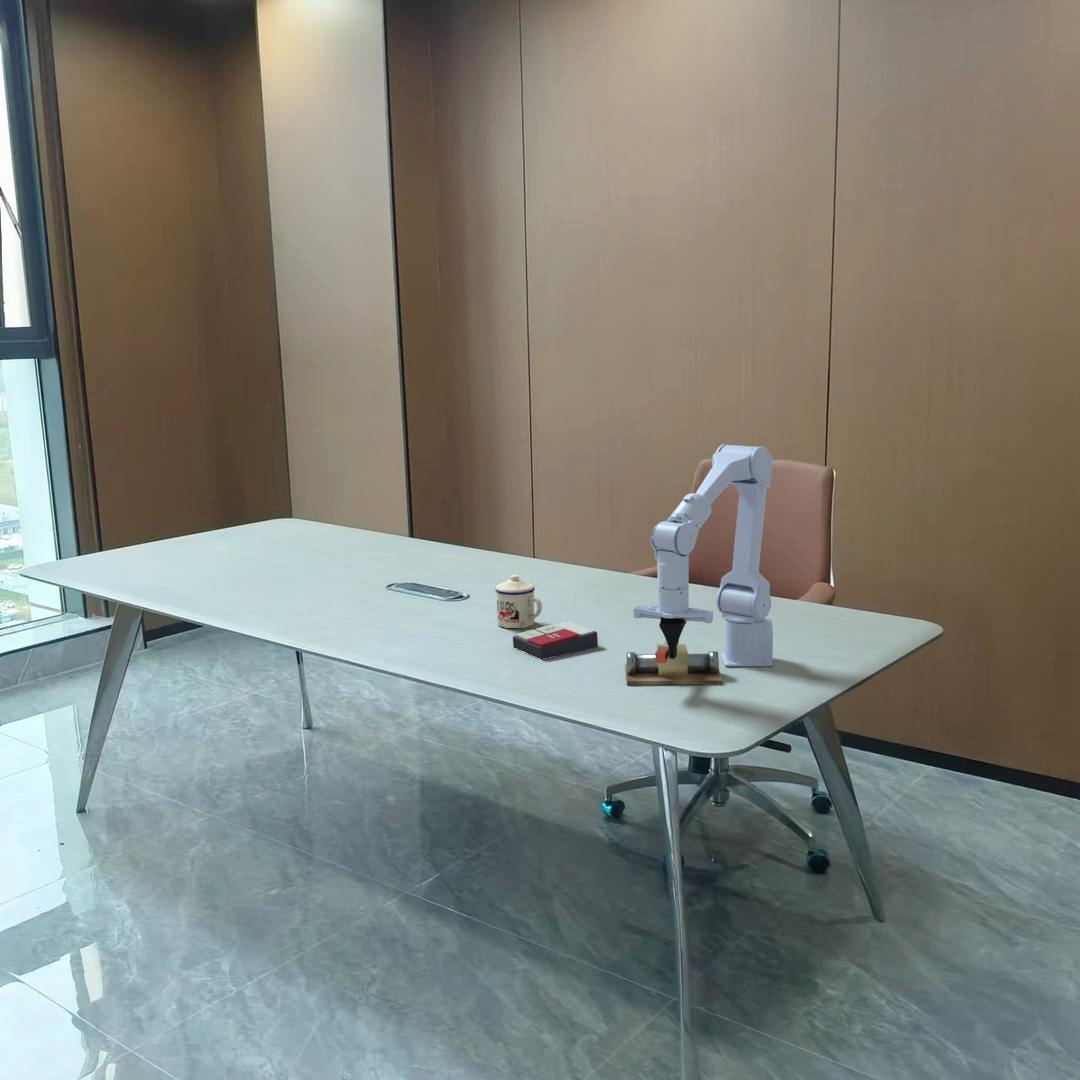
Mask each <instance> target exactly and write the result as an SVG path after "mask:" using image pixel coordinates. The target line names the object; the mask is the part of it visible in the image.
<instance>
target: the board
mask: <svg viewBox="0 0 1080 1080" xmlns="http://www.w3.org/2000/svg"><path fill="white" fill-rule="evenodd" d="M624 669H625V671H624V672H625V680H626V685H627V686H668V685H667V684H674V685H673V686H676V685H675V684H723V680H722V677H721V676H720V675H721V674H720V672H719V671H718V674H710V673H709V672H688V676H658V672H654V673H636V674H627V663H624Z"/></svg>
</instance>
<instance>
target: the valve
mask: <svg viewBox="0 0 1080 1080" xmlns="http://www.w3.org/2000/svg"><path fill="white" fill-rule="evenodd" d="M660 646H663V644H656V651H657V650H658V648H659V647H660ZM719 659H720V658H719V653H718V651H712V650H711V651H710V650H709V651H708V652H707V653H689V652H688V648H687V645H686V644H685V643H684V644H682V643H681V644H677V656H676V658H675V659H669V657H668V659H667V661H666V663H655V653H636V651H627V652H626V664H627V674H636V673H654V672H658V676H688V672H709V673H710V674H718V672H719V670H720V667H719V663H720V662H719V661H720V660H719Z"/></svg>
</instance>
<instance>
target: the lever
mask: <svg viewBox="0 0 1080 1080" xmlns="http://www.w3.org/2000/svg"><path fill="white" fill-rule="evenodd" d="M664 638H665V637H664ZM664 640H665V641H664V642H663V644H662V645H663V646H660V647H659V648H658V650H657V649H656V651H655V653H654V654H655V663H666V661H667V659H668V657H669V647H668V644H667V641H666V638H665V639H664ZM679 643H680V640H679V641H678V644H679Z"/></svg>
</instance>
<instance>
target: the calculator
mask: <svg viewBox="0 0 1080 1080" xmlns="http://www.w3.org/2000/svg"><path fill="white" fill-rule="evenodd" d="M512 645H513V647H514V648H517V649H519V650H521V651H524V652H526V653H528V654H530V655H529V656H531V655H533V656H535V657H537V658H536V659H538V658H540V659H543V658H548V659H550V658H549V657H552V658H554V657H553V656H557V657H560V656H559V655H561V656H564V655H563V654H565V655H568V654H567V653H569V654H572V653H576V652H578V651H587V650H586V649H588V650H591V649H592V650H593V649H595V648H598V647H599V641H598V631H595V629H591V628H588V627H586V626H583V625H580V624H577V623H574V622H572V621H568V620H567V621H563V622H559V623H555V624H554V623H553V624H549V625H545V626H541V627H537V628H535V629H530V630H525V631H521V632H519V633H516V634H515V635H514V636H512ZM514 648H513V649H514ZM519 650H518V651H519ZM521 651H520V652H521ZM526 653H525V654H526ZM528 654H527V655H528ZM533 656H532V657H533ZM535 657H534V658H535ZM540 659H539V660H540ZM543 660H544V659H543Z"/></svg>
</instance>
